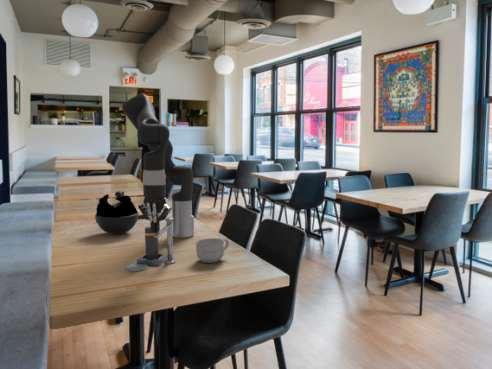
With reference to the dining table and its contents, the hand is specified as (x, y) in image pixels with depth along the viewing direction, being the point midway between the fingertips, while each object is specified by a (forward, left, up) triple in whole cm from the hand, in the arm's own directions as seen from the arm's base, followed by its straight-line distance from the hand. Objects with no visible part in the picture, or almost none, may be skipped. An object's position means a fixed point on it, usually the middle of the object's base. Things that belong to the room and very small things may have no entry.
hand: (155, 232), depth 149 cm
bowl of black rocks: (-8, -64, -15) cm, 67 cm away
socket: (-4, -13, -15) cm, 20 cm away
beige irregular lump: (-20, -89, -15) cm, 93 cm away
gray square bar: (-4, -2, 0) cm, 5 cm away
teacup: (-24, -1, -15) cm, 29 cm away
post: (-10, -9, -15) cm, 19 cm away
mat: (+3, -10, -15) cm, 18 cm away
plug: (-4, -13, -15) cm, 20 cm away
